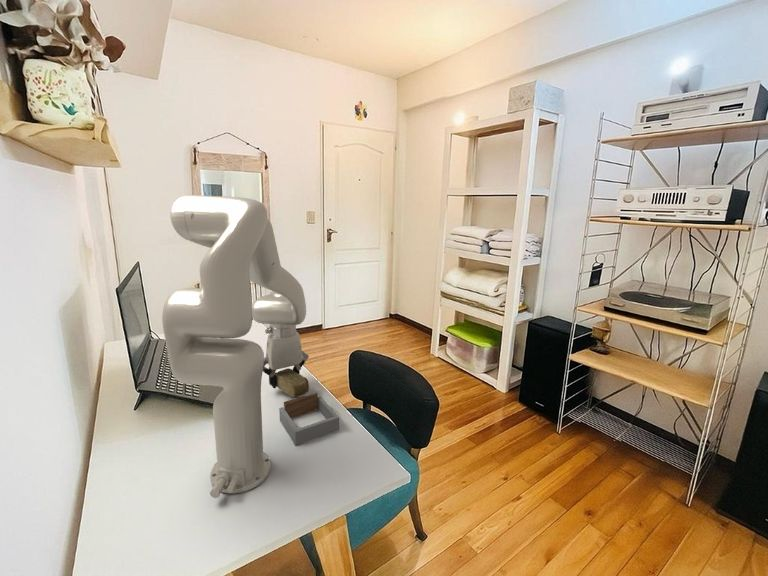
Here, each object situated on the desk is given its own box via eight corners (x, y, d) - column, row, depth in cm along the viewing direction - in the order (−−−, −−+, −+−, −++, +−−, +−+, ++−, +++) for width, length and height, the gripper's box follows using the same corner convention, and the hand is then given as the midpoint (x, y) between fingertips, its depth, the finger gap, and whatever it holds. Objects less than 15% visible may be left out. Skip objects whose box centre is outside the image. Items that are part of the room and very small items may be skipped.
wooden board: (317, 410, 104) (317, 394, 103) (285, 420, 99) (285, 404, 98) (316, 407, 105) (316, 392, 104) (284, 417, 100) (283, 401, 98)
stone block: (294, 400, 105) (294, 385, 103) (272, 386, 112) (271, 372, 111) (310, 393, 109) (310, 378, 108) (288, 379, 116) (287, 365, 115)
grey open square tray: (339, 430, 96) (339, 417, 95) (295, 446, 89) (295, 432, 88) (320, 408, 106) (320, 395, 105) (279, 420, 99) (279, 407, 98)
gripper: (257, 340, 100) (260, 396, 105) (315, 329, 110) (315, 381, 114) (250, 331, 106) (253, 385, 111) (305, 321, 116) (306, 371, 120)
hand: (284, 382), depth 113 cm, fingers closed on stone block, 6 cm apart
